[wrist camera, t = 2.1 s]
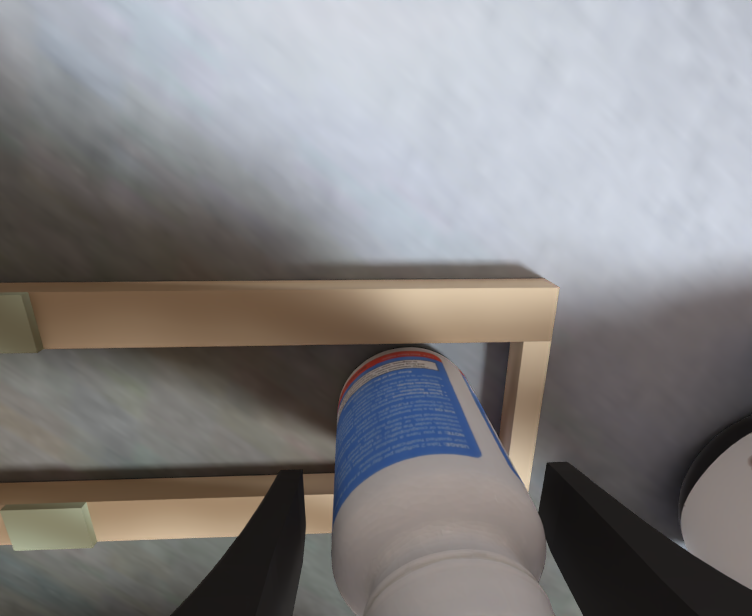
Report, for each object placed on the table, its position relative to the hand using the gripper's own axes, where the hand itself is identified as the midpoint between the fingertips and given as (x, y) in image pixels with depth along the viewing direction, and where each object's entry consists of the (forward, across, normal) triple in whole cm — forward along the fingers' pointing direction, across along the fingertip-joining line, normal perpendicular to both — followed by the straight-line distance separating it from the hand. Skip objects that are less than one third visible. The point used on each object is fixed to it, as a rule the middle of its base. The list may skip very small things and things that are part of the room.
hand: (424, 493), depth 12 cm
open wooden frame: (+5, +7, 0) cm, 9 cm away
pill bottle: (+5, 0, 0) cm, 5 cm away
